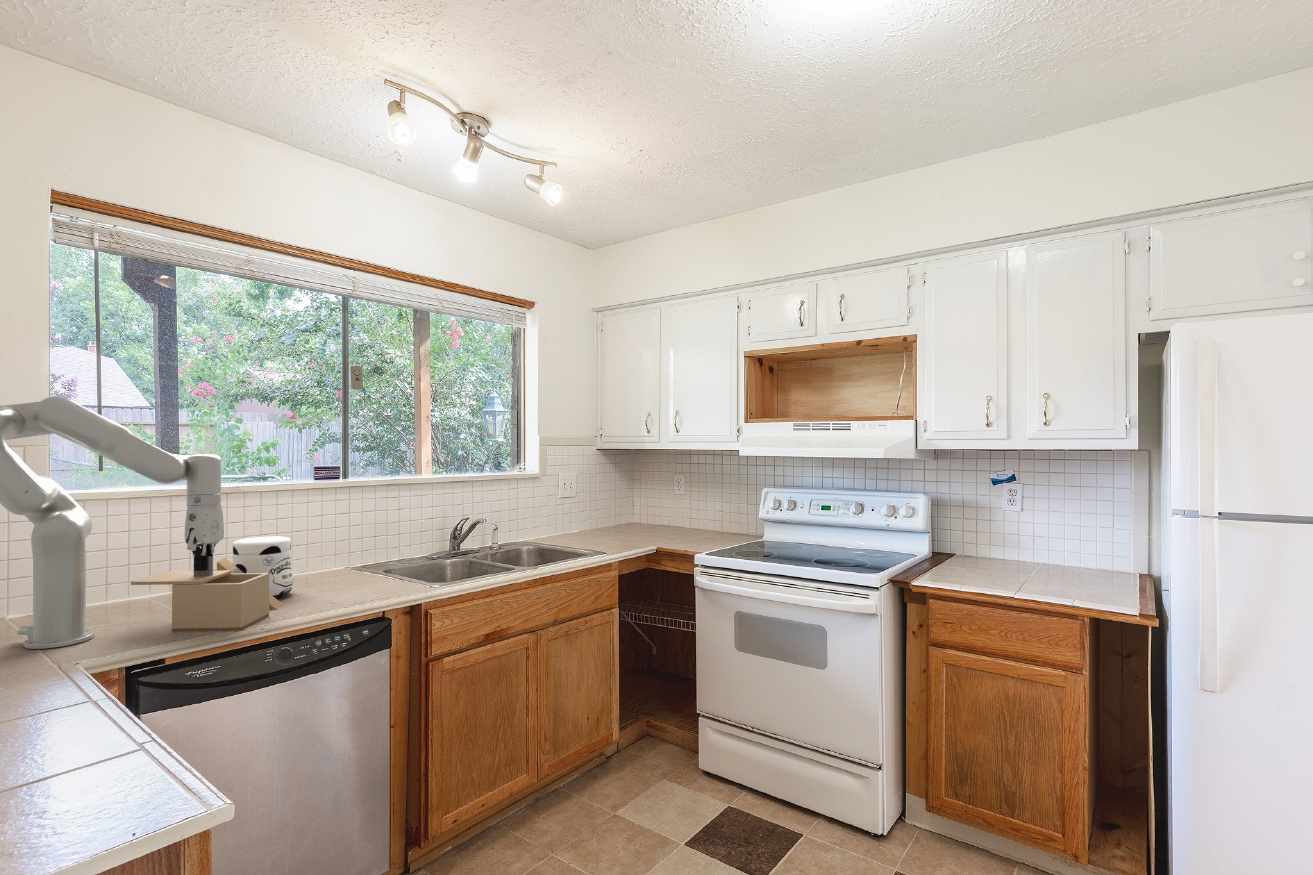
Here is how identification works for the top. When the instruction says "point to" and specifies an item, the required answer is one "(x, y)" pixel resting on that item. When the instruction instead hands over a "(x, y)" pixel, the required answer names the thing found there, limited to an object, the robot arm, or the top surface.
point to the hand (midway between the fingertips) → (203, 569)
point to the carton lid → (183, 576)
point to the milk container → (266, 561)
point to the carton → (221, 603)
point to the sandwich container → (227, 565)
